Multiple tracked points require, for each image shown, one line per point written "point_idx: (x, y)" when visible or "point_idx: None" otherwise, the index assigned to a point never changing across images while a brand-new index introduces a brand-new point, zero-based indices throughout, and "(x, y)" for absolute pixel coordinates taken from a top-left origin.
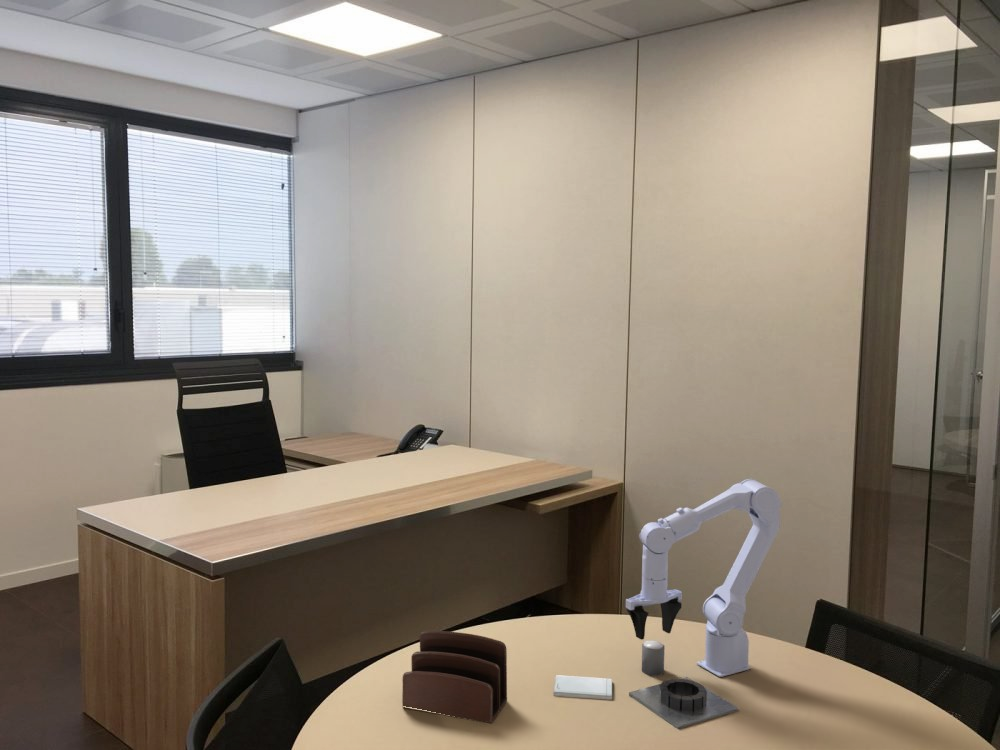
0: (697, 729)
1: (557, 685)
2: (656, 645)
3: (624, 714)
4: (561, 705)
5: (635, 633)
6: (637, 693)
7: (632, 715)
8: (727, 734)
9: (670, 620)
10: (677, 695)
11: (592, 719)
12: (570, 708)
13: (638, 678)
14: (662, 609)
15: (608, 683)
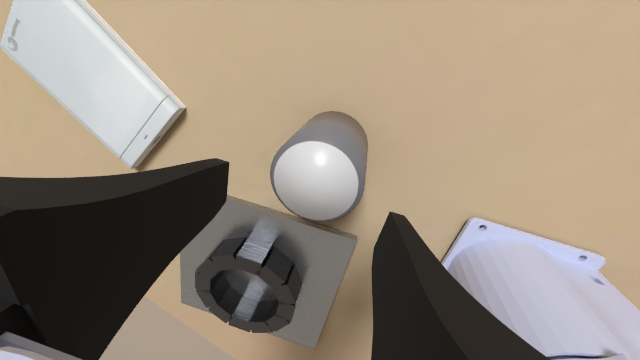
0: (211, 317)
1: (14, 28)
2: (315, 198)
3: None
4: (22, 102)
5: (204, 160)
6: None
7: None
8: (238, 347)
9: (374, 321)
10: (212, 299)
11: None
12: (38, 126)
13: (262, 145)
14: (417, 305)
15: (151, 125)
